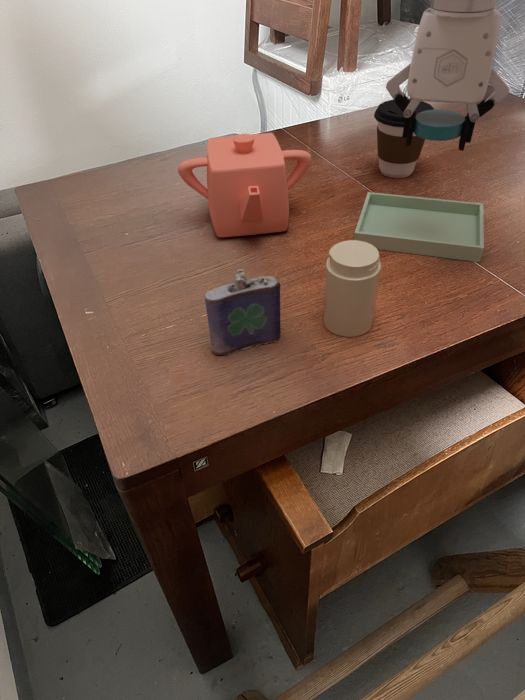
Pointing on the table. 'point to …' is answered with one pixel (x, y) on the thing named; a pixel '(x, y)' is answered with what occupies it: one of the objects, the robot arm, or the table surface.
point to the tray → (422, 226)
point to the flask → (243, 313)
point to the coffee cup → (396, 140)
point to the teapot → (246, 183)
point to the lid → (439, 125)
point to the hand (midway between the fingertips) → (434, 143)
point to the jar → (351, 288)
